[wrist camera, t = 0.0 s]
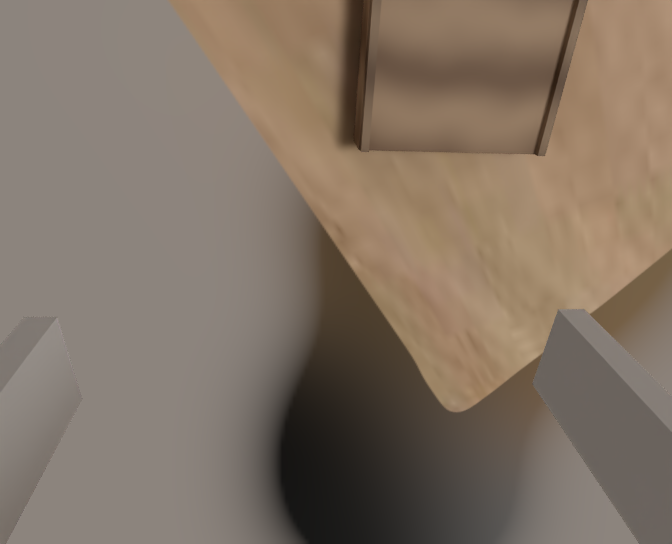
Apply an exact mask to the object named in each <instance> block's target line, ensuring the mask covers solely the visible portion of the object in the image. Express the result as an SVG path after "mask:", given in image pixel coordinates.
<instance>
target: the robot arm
mask: <svg viewBox="0 0 672 544" xmlns="http://www.w3.org/2000/svg"><path fill="white" fill-rule="evenodd" d="M533 386H534V387H535V389H536V390H537V392H538V393H539V394H540V396H541V398H542V399H543V401H544V402H545V404H546V405H547V406H548V408H549V410H550V411H551V412H552V414H553V416H554V417H555V419H556V420H557V421H558V423H559V425H560V426H561V427H562V429H563V430H564V432H565V433H566V435H567V436H568V438H569V439H570V441H571V442H572V444H573V445H574V447H575V448H576V450H577V451H578V453H579V454H580V456H581V457H582V459H583V460H584V462H585V463H586V465H587V466H588V468H589V469H590V471H591V472H592V474H593V475H594V477H595V478H596V480H597V481H598V483H599V484H600V486H601V487H602V489H603V490H604V492H605V493H606V495H607V496H608V498H609V499H610V501H611V502H612V504H613V505H614V506H615V508H616V510H617V511H618V513H619V514H620V516H621V517H622V519H623V520H624V522H625V523H626V525H627V526H628V528H629V529H630V531H631V532H632V534H633V535H634V537H635V538H636V540H637V541H638V543H639V544H672V395H671V394H669V393H668V392H667V391H666V390H665V389H664V388H663V387H662V386H661V385H660V384H659V383H658V382H657V381H656V380H655V379H654V378H653V377H652V376H651V375H650V374H649V373H648V372H647V371H646V370H645V369H644V368H643V367H642V366H641V365H640V364H639V363H638V362H637V361H636V360H635V359H634V358H633V357H632V356H631V355H630V354H629V353H628V352H627V351H626V350H625V349H624V348H623V347H622V346H621V345H620V344H619V343H618V342H617V341H616V340H615V339H614V338H613V337H612V336H611V335H610V334H609V333H608V332H607V331H606V330H605V329H604V328H602V326H601V325H599V323H597V322H596V321H595V320H594V319H593V318H592V317H591V316H590V315H589V314H588V313H587V312H586V311H585V310H584V309H562V310H558V312H557V315H556V317H555V320H554V323H553V326H552V329H551V332H550V335H549V338H548V340H547V343H546V346H545V349H544V352H543V355H542V358H541V361H540V363H539V366H538V369H537V372H536V375H535V378H534V381H533ZM81 401H82V396H81V393H80V390H79V386H78V383H77V380H76V377H75V373H74V370H73V367H72V363H71V360H70V357H69V354H68V350H67V347H66V344H65V341H64V337H63V334H62V331H61V327H60V324H59V321H58V318H57V317H24V318H23V319H22V320H21V322H20V323H19V324H18V325H17V326H16V327H15V328H14V330H13V331H12V332H11V333H10V334H9V335H8V337H7V338H6V339H5V340H4V341H3V342H2V343H1V345H0V544H6V543H7V541H8V539H9V537H10V535H11V533H12V531H13V530H14V528H15V526H16V524H17V522H18V520H19V518H20V516H21V514H22V512H23V511H24V508H25V506H26V505H27V503H28V501H29V499H30V497H31V495H32V493H33V492H34V490H35V488H36V486H37V484H38V482H39V480H40V478H41V476H42V475H43V472H44V471H45V469H46V467H47V465H48V463H49V461H50V459H51V457H52V456H53V454H54V452H55V450H56V448H57V446H58V444H59V442H60V440H61V438H62V437H63V435H64V433H65V431H66V429H67V427H68V425H69V423H70V421H71V419H72V417H73V416H74V414H75V412H76V410H77V408H78V406H79V404H80V402H81Z"/></svg>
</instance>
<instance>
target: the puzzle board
mask: <svg viewBox="0 0 672 544" xmlns="http://www.w3.org/2000/svg"><path fill="white" fill-rule="evenodd" d="M587 1H588V0H363V10H362V25H361V39H360V54H359V69H358V84H357V99H356V114H355V129H354V142H355V144H356V146H357V148H358V149H359V150H360V151H361V152H369V150H382V151H423V152H464V153H505V154H535V155H537V156H545V154H546V150H547V147H548V143H549V139H550V136H551V132H552V129H553V125H554V121H555V118H556V114H557V110H558V107H559V103H560V100H561V96H562V92H563V89H564V85H565V81H566V78H567V74H568V70H569V67H570V63H571V60H572V56H573V52H574V49H575V45H576V41H577V38H578V34H579V31H580V27H581V23H582V20H583V16H584V12H585V9H586V5H587Z"/></svg>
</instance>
